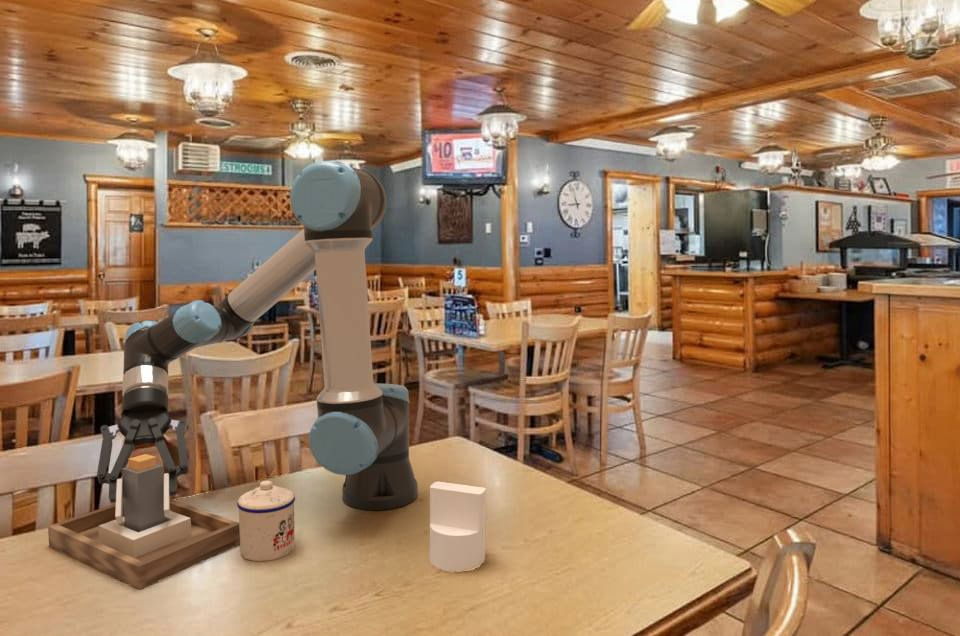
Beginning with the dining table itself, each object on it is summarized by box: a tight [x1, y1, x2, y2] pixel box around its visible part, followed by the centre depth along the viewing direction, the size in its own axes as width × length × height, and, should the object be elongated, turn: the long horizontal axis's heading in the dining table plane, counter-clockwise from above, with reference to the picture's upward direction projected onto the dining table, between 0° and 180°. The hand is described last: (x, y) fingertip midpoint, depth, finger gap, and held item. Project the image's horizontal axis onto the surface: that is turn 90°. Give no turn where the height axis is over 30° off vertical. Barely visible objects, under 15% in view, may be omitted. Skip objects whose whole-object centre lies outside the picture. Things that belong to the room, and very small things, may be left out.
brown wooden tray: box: [47, 498, 240, 591], centre depth 109 cm, size 26×18×4 cm
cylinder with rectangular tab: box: [429, 480, 487, 573], centre depth 105 cm, size 9×9×12 cm
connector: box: [121, 453, 166, 532], centre depth 109 cm, size 4×4×13 cm
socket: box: [99, 511, 191, 558], centre depth 109 cm, size 10×10×3 cm
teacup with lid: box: [236, 480, 296, 562], centre depth 109 cm, size 12×9×12 cm
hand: (143, 516), depth 106 cm, fingers closed on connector, 6 cm apart
